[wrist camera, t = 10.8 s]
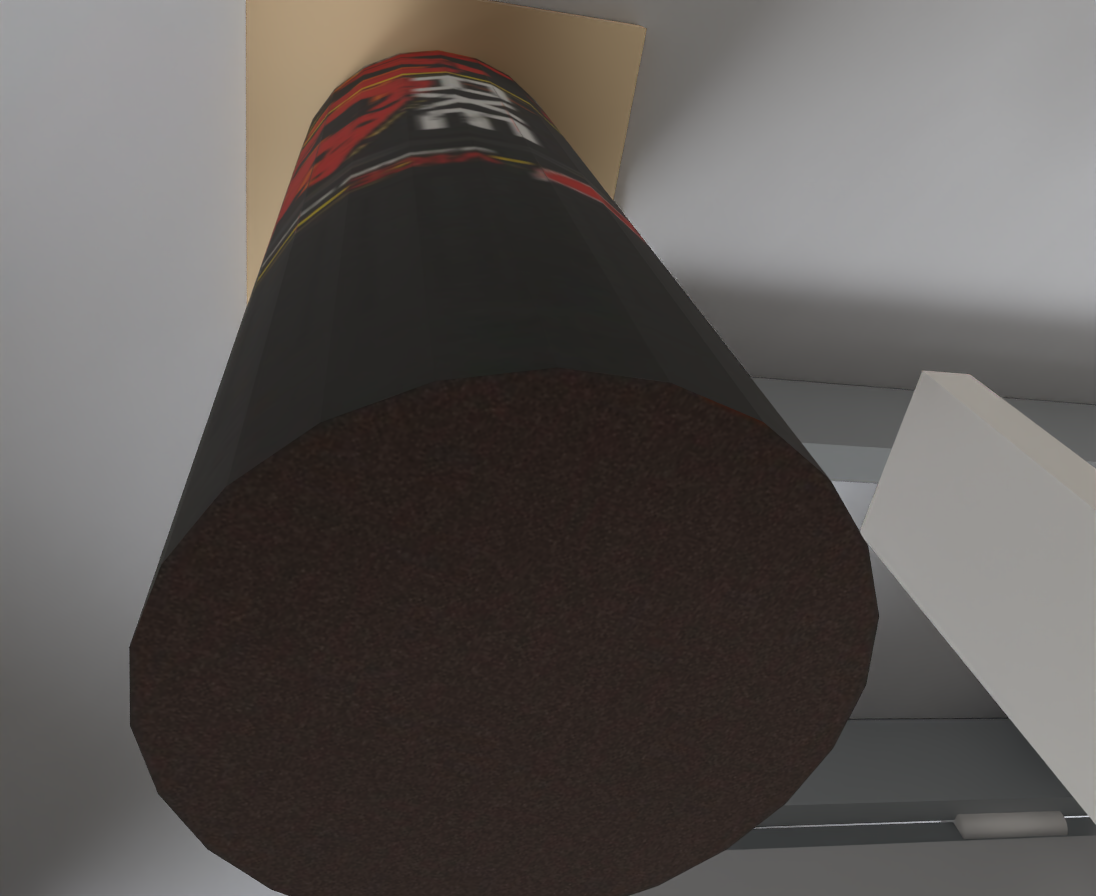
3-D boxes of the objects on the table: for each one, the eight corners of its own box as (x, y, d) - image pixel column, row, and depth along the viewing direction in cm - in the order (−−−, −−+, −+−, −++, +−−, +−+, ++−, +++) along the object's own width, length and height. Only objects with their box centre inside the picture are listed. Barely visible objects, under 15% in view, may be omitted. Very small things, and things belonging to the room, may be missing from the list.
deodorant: (542, 21, 19) (887, 276, 6) (586, 290, 22) (873, 836, 9) (256, 84, 18) (-37, 490, 6) (342, 346, 21) (281, 988, 9)
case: (468, 766, 30) (551, 1584, 16) (537, 359, 23) (817, 1174, 8) (1030, 756, 35) (1503, 1376, 20) (1236, 416, 28) (2208, 1000, 13)
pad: (250, 336, 22) (246, 347, 21) (249, -40, 18) (246, -38, 17) (575, 362, 23) (579, 373, 23) (639, 25, 19) (647, 28, 19)
